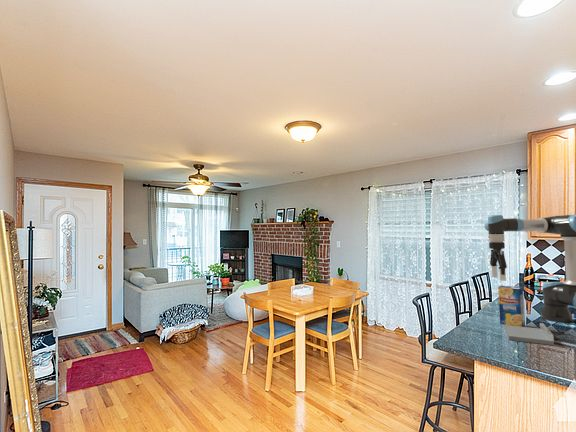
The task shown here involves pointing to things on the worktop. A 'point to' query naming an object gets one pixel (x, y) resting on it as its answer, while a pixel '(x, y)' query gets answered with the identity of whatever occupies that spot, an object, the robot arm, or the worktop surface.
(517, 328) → the shelf board
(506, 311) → the beverage box
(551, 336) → the price rail
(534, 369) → the worktop surface
